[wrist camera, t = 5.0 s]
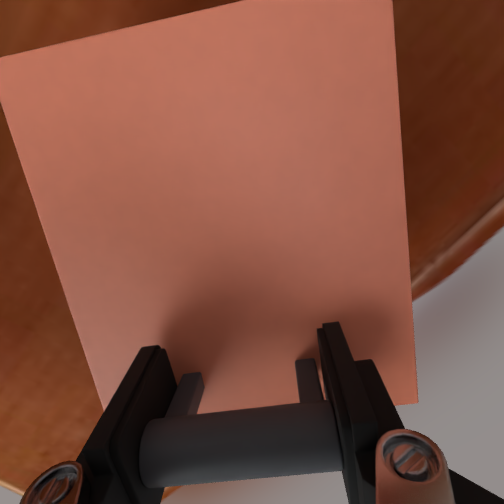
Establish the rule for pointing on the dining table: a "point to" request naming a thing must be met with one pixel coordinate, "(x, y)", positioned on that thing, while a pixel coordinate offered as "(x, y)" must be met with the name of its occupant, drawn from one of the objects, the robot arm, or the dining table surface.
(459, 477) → the robot arm
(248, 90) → the lunchbox lid
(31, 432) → the dining table surface
